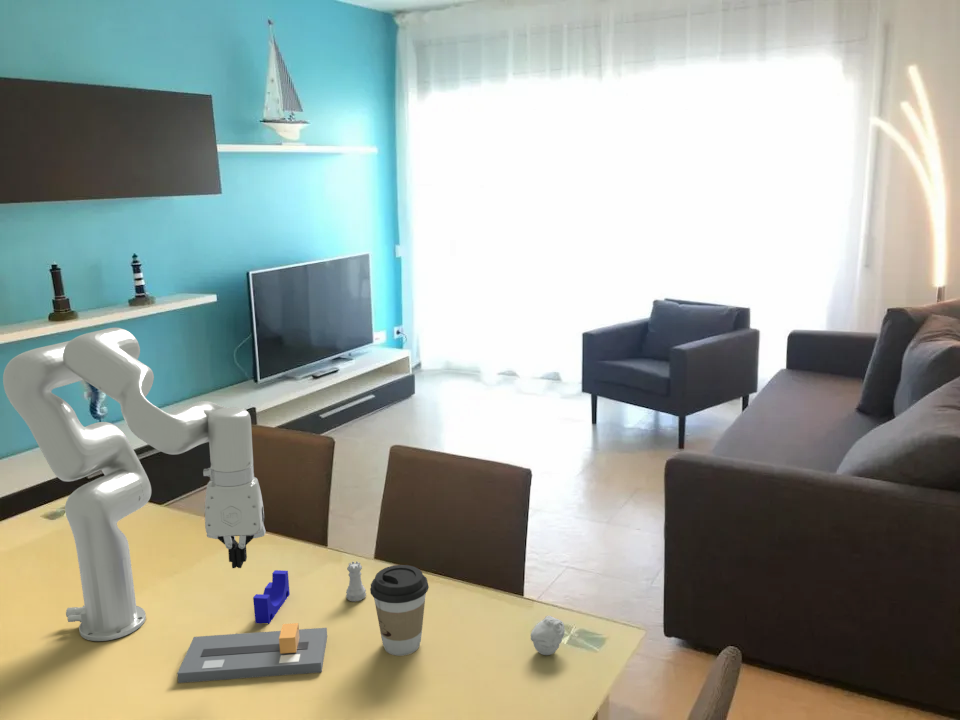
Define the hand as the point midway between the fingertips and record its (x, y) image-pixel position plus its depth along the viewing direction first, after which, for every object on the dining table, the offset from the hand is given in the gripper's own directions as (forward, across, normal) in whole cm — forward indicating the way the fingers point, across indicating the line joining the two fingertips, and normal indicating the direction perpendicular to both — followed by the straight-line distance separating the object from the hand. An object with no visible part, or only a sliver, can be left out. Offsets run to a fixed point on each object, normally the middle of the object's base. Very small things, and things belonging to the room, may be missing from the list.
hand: (238, 564), depth 150 cm
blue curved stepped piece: (+19, +2, +16) cm, 25 cm away
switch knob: (+16, +10, -3) cm, 19 cm away
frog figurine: (+17, +59, -7) cm, 62 cm away
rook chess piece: (+18, +21, +18) cm, 33 cm away
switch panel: (+18, +3, -3) cm, 19 cm away
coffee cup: (+18, +31, -1) cm, 36 cm away
